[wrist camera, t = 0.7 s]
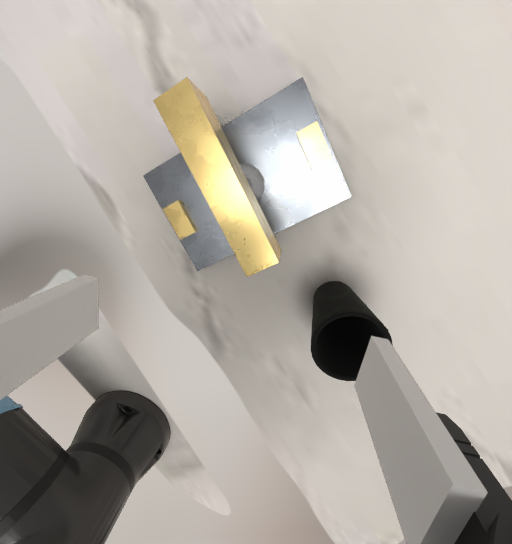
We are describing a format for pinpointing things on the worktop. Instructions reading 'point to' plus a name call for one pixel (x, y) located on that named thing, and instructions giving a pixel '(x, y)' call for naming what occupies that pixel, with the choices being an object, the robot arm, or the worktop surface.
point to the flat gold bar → (219, 175)
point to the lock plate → (258, 174)
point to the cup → (342, 330)
